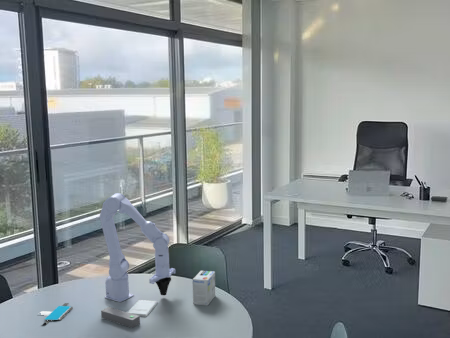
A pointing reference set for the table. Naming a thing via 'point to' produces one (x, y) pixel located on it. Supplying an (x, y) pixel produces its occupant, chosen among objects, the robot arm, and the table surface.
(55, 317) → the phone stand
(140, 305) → the external hard drive
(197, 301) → the light bulb box
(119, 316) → the charging dock
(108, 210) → the robot arm
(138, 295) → the table surface
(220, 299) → the table surface
